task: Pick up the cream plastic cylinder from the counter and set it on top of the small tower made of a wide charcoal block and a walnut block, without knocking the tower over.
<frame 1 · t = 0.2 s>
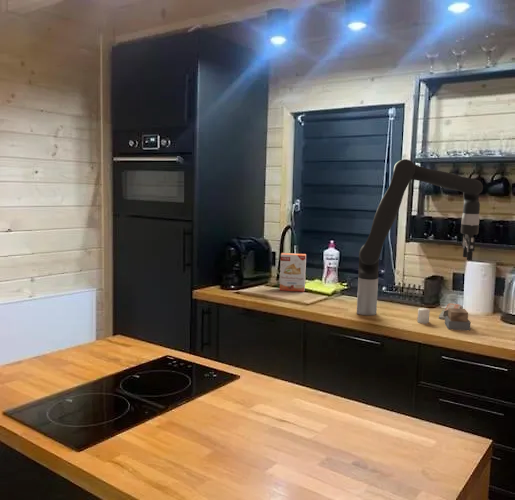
hand: (467, 258, 254), 29 cm above the worktop, tool pointing down, fingers open, 8 cm apart
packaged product: (451, 317, 264), on the worktop
cracker box: (292, 290, 313), on the worktop
walnut block: (457, 319, 244), point 4 cm above the worktop, touching charcoal base block
cream cylinder: (423, 322, 252), on the worktop
charcoal base block: (457, 328, 245), on the worktop, touching walnut block
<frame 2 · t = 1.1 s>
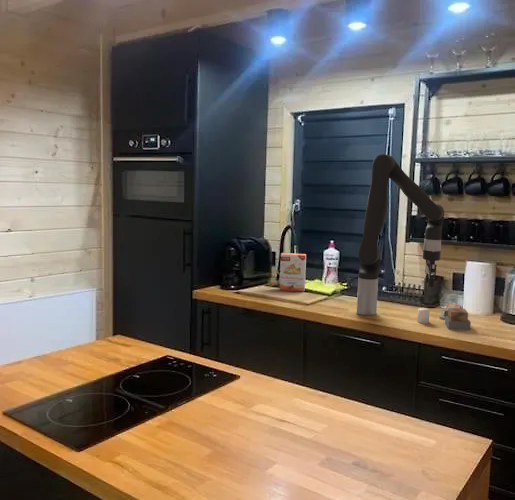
hand: (429, 284, 251), 17 cm above the worktop, tool pointing down, fingers open, 8 cm apart
nothing on the worktop moved.
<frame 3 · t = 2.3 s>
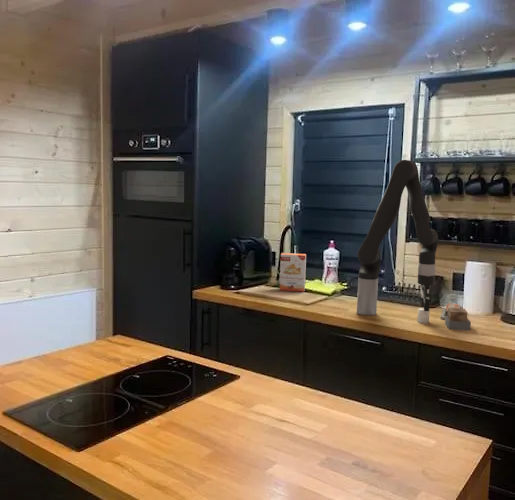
hand: (425, 308, 251), 6 cm above the worktop, tool pointing down, fingers open, 8 cm apart
walnut block: (457, 319, 244), point 4 cm above the worktop
charcoal base block: (457, 327, 245), on the worktop
everything else where it was.
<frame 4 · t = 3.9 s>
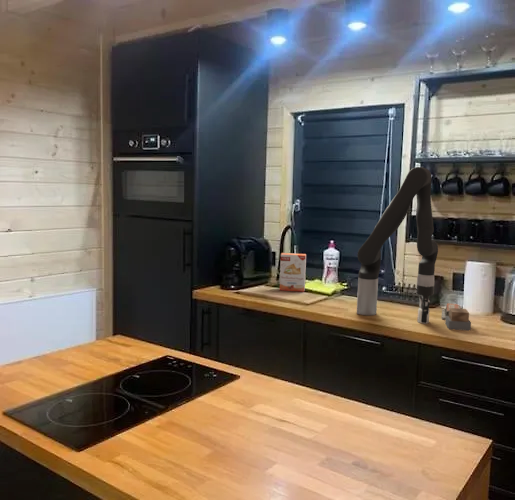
hand: (423, 320, 252), 1 cm above the worktop, tool pointing down, fingers closed on cream cylinder, 5 cm apart
cream cylinder: (423, 322, 252), on the worktop, touching gripper
everything else where it was.
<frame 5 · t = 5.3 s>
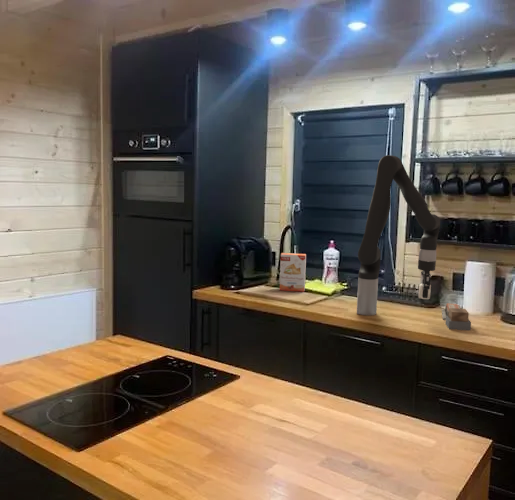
hand: (424, 296, 250), 12 cm above the worktop, tool pointing down, fingers closed on cream cylinder, 5 cm apart
walnut block: (457, 319, 244), point 4 cm above the worktop, touching charcoal base block
cream cylinder: (424, 297, 250), point 11 cm above the worktop, touching gripper
charcoal base block: (457, 327, 245), on the worktop, touching walnut block
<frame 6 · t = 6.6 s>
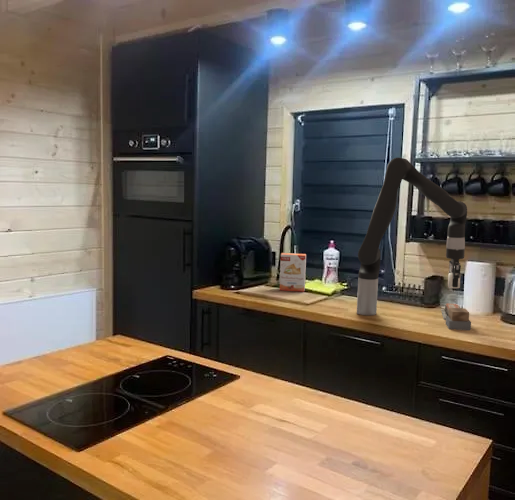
hand: (453, 285, 243), 18 cm above the worktop, tool pointing down, fingers closed on cream cylinder, 5 cm apart
cream cylinder: (453, 287, 244), point 18 cm above the worktop, touching gripper
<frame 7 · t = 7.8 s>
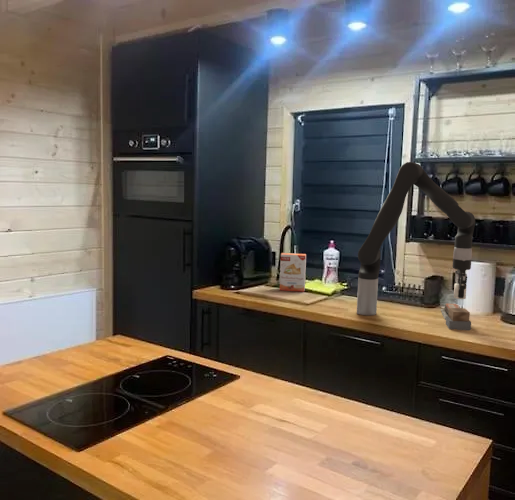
hand: (459, 296, 243), 14 cm above the worktop, tool pointing down, fingers closed on cream cylinder, 5 cm apart
cream cylinder: (459, 297, 243), point 13 cm above the worktop, touching gripper
when the fingers open (10 cm above the worktop, at t = 9.5 s): cream cylinder drops 1 cm, resting on walnut block.
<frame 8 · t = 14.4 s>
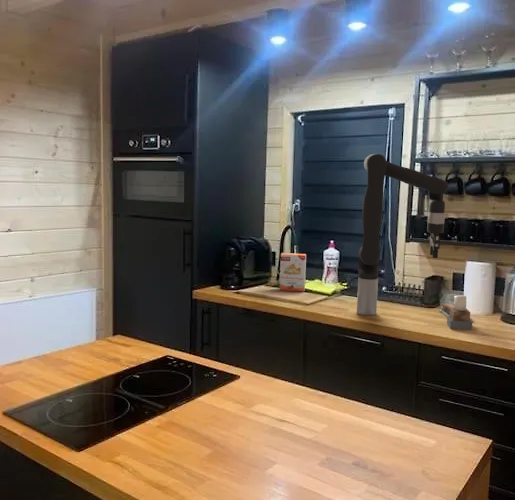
hand: (433, 256, 262), 28 cm above the worktop, tool pointing down, fingers open, 8 cm apart
walnut block: (459, 318, 245), point 4 cm above the worktop, touching charcoal base block, cream cylinder
cream cylinder: (460, 309, 244), point 8 cm above the worktop, touching walnut block
at the end: cream cylinder 0.2 cm off-centre on the walnut block, point 4.1 cm above the walnut block's base; walnut block 0.1 cm off-centre on the charcoal base block, point 4.0 cm above the charcoal base block's base; cream cylinder tilted 3° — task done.
